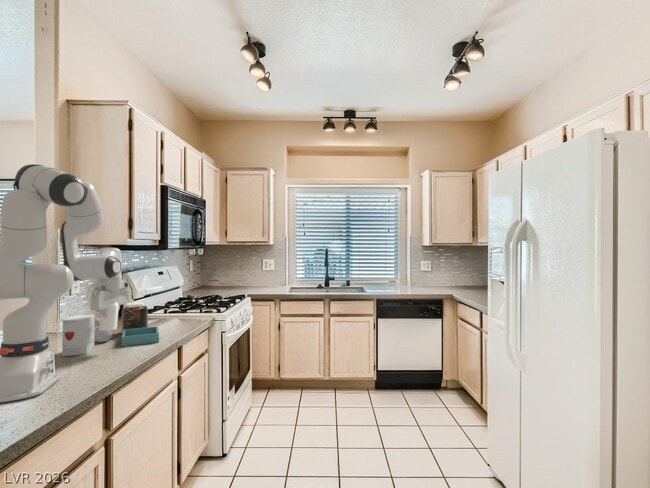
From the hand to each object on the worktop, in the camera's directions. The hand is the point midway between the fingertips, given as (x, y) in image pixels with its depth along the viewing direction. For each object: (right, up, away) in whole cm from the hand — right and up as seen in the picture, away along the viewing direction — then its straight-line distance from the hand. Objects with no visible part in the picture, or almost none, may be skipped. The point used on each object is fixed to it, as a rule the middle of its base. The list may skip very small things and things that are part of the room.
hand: (110, 317), depth 149 cm
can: (0, -5, -1) cm, 5 cm away
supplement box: (-12, -14, -2) cm, 19 cm away
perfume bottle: (-12, -14, +12) cm, 22 cm away
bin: (+5, -14, +16) cm, 22 cm away
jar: (-6, -14, +31) cm, 35 cm away
